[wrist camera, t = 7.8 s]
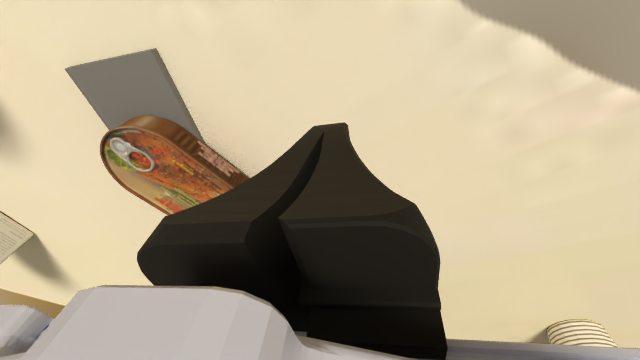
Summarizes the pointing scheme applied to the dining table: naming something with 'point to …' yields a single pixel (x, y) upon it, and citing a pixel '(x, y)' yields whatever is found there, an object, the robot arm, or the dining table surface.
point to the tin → (166, 164)
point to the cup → (580, 334)
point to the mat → (132, 90)
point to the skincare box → (11, 236)
